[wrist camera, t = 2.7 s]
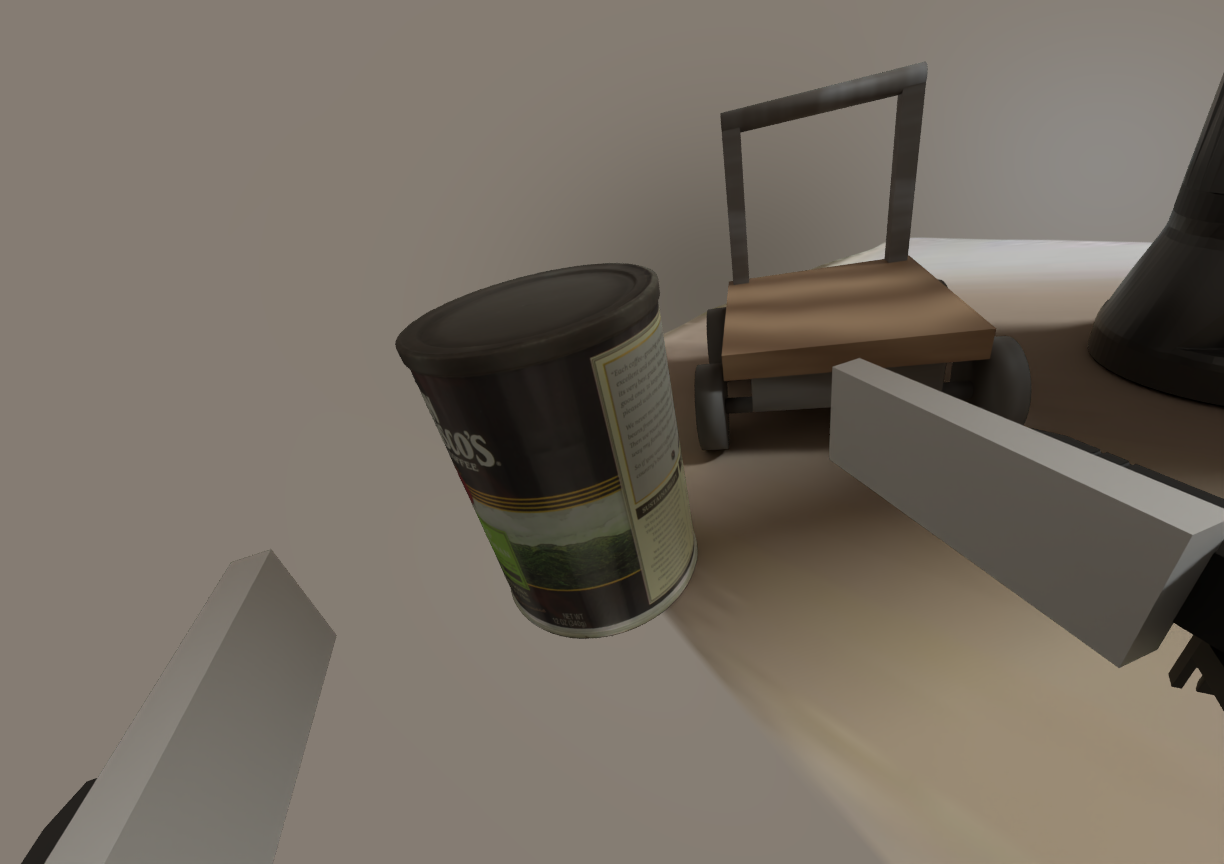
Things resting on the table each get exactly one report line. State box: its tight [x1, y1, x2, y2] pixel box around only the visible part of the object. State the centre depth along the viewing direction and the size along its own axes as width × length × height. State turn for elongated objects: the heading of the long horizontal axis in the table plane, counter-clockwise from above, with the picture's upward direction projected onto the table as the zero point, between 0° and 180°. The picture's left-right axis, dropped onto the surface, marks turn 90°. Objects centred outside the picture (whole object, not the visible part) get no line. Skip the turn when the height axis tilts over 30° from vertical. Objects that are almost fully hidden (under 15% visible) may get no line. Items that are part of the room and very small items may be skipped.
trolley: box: [695, 62, 1031, 450], centre depth 30 cm, size 17×17×19 cm
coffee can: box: [395, 263, 698, 639], centre depth 22 cm, size 10×10×14 cm
